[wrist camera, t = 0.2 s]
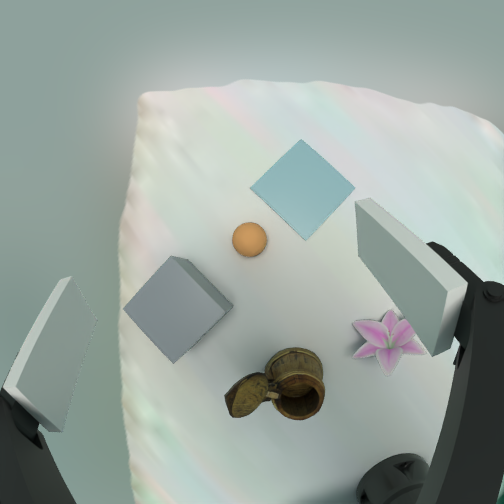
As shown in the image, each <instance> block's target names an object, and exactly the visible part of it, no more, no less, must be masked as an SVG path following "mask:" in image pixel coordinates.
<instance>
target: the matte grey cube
mask: <svg viewBox="0 0 504 504" xmlns="http://www.w3.org/2000/svg"><path fill="white" fill-rule="evenodd" d="M232 307H233V305H232V304H231V303H230V302H229V301H228V300H227V299H226V298H225V297H224V296H223V295H222V294H221V293H220V292H219V291H218V290H217V289H216V288H215V287H214V286H213V285H212V284H211V283H210V282H209V281H208V280H207V279H206V278H205V277H204V276H203V275H202V274H201V272H200V271H199V270H198V269H197V268H196V267H195V266H194V265H193V264H192V263H191V262H190V261H189V260H188V259H183V258H178V257H174V256H170V257H169V258H168V260H167V261H166V262H165V263H164V264H163V265H162V266H161V267H160V268H159V269H158V270H157V271H156V273H155V274H154V275H153V276H152V277H151V278H150V279H149V280H148V281H147V282H146V283H145V285H144V286H143V287H142V288H141V289H140V290H139V291H138V292H137V293H136V295H135V296H134V297H133V298H132V299H131V300H130V301H129V302H128V304H127V305H126V306H125V307H124V308H123V310H124V311H125V312H126V313H127V314H128V315H129V317H130V318H131V319H132V320H133V321H134V322H135V323H136V324H137V326H138V327H139V328H140V329H141V330H142V331H143V332H144V333H145V334H146V336H147V337H148V338H149V339H150V340H151V341H152V342H153V343H154V344H155V345H156V346H157V347H158V348H159V349H160V350H161V352H162V353H163V354H164V355H165V356H166V357H167V358H168V359H169V360H170V361H171V362H172V363H173V364H174V363H175V362H176V361H177V360H178V359H179V358H181V357H182V356H183V355H184V354H185V353H186V352H187V351H189V350H190V349H191V348H192V347H193V346H194V345H195V344H196V343H197V342H198V341H199V340H200V339H201V338H202V337H203V336H204V335H205V334H206V333H207V332H208V331H209V330H210V329H211V328H212V327H213V326H214V325H215V324H216V323H217V322H218V321H219V320H220V319H221V318H222V317H223V316H224V315H225V314H226V313H227V312H228V311H229V310H230V309H231V308H232Z"/></svg>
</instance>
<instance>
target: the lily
mask: <svg viewBox="0 0 504 504" xmlns="http://www.w3.org/2000/svg"><path fill="white" fill-rule="evenodd" d="M352 324H353V326H354V327H355V328H356V329H357V330H358V332H359V333H360V334H361V335H362V336H363V337H364V338H365V339H366V340H367V341H368V342H366V343H365V344H363V345H362V346H361V347H360V348H359V349H358V350H357V351H356V352H355V353H354V355H353V356H352V358H353V359H356V358H364V357H370V356H375V355H376V358H377V360H378V362H379V364H380V367H381V369H382V371H383V373H384V374H385V375H386V376H390V375H391V374H392V372H393V371H394V369H395V367H396V365H397V364H398V362H399V360H400V358H401V356H402V354H411V355H425V354H426V351H425V350H424V348H423V347H422V346H421V345H420V344H419V343H418V342H417V341H415V340H414V339H412V338H413V337H414V336H415V334H416V332H415V331H414V330H413V328H412V327H411V325H410V324H409V323H408V321H407V320H406V318H405V319H402V320H400V321H399V319H398V317H397V316H396V314H395V313H394V311H393V310H388V311H387V313H386V314H385V316H384V318H383V320H382V322H378V321H374V320H357V321H354V322H353V323H352Z"/></svg>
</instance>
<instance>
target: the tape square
mask: <svg viewBox="0 0 504 504" xmlns="http://www.w3.org/2000/svg"><path fill="white" fill-rule="evenodd" d="M250 189H252V190H253V191H254V192H255V193H256V194H257V195H258V196H259V197H260V198H261V199H262V200H263V201H264V202H266V203H267V204H268V205H269V206H270V207H271V208H272V209H273V210H274V211H275V212H276V213H277V214H278V215H279V216H280V217H281V218H282V219H284V220H285V221H286V222H287V223H288V224H289V225H290V226H291V227H292V228H293V229H294V230H295V231H296V232H297V233H298V234H299V235H300V236H301V237H302V238H303V239H304V240H305V241H306V240H307V239H308V238H309V237H310V236H311V235H312V234H313V233H314V232H315V230H316V229H317V228H318V227H319V226H320V225H321V224H322V223H323V222H324V221H325V220H326V219H327V218H328V217H329V216H330V215H331V214H332V212H333V211H334V210H335V209H336V208H337V207H338V206H339V205H340V204H341V203H342V202H343V201H344V200H345V199H346V198H347V196H348V195H349V194H350V193H351V192H352V191H353V190H354V189H355V187H354V186H353V185H352V184H351V183H350V182H349V181H348V180H347V179H345V178H344V177H343V176H342V175H341V174H340V173H339V172H338V171H337V170H336V169H335V168H334V167H332V166H331V165H330V164H329V163H328V162H327V161H326V160H325V159H324V158H322V157H321V156H320V155H319V154H318V153H317V152H316V151H315V150H313V149H312V148H311V147H310V146H309V145H308V144H306V143H305V142H304V141H303V140H302V139H301V140H299V141H298V142H297V143H296V144H295V145H294V146H293V147H292V148H291V149H290V150H289V151H288V152H287V153H286V154H285V155H284V156H283V157H281V158H280V159H279V160H278V161H277V162H276V163H275V164H274V165H273V166H272V167H271V168H270V169H269V170H268V171H267V172H266V173H265V174H264V175H263V176H262V177H261V178H260V179H259V180H258V181H257V182H256V183H255V184H254V185H253V186H252V187H251V188H250Z"/></svg>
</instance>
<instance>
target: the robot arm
mask: <svg viewBox="0 0 504 504" xmlns="http://www.w3.org/2000/svg"><path fill="white" fill-rule="evenodd" d="M355 211H356V224H357V240H358V256H359V257H360V259H361V260H362V261H363V262H364V264H365V265H366V266H367V267H368V269H369V270H370V271H371V273H372V274H373V275H374V276H375V278H376V279H377V280H378V282H379V283H380V284H381V286H382V287H383V288H384V290H385V291H386V292H387V294H388V295H389V296H390V298H391V299H392V300H393V302H394V303H395V305H396V306H397V307H398V309H399V310H400V311H401V313H402V314H403V316H404V317H405V318H406V320H407V321H408V323H409V324H410V325H411V327H412V328H413V330H414V331H415V332H416V334H417V335H418V337H419V338H420V340H421V341H422V343H423V344H424V346H425V347H426V348H427V350H428V351H429V353H430V354H431V356H432V357H433V356H435V355H438V354H440V353H442V352H444V351H446V350H448V349H450V348H451V345H452V342H453V338H454V336H455V338H456V339H457V340H458V341H459V343H460V346H459V348H458V351H457V354H456V357H455V360H454V362H453V365H456V366H455V371H454V377H453V382H452V387H451V392H450V397H449V401H448V406H447V410H446V414H445V418H444V422H443V426H442V429H441V433H440V436H439V440H438V443H437V446H436V450H435V453H434V456H433V459H432V462H431V465H430V468H429V466H428V464H427V463H426V462H425V461H424V459H423V458H422V457H420V456H418V455H415V454H400V455H396V456H393V457H390V458H388V459H386V460H384V461H382V462H380V463H379V464H377V465H376V466H374V467H373V468H372V469H371V470H369V471H368V472H367V473H366V474H365V476H364V477H363V478H362V480H361V481H360V483H359V485H358V487H357V492H356V495H357V499H358V502H359V504H496V502H497V498H498V494H499V491H500V487H501V483H502V479H503V474H504V285H502V284H500V283H497V282H494V281H486V282H483V281H482V280H481V279H480V278H479V277H478V276H477V275H476V274H475V273H473V272H472V271H471V270H470V269H469V268H468V267H467V266H466V265H465V264H464V263H462V262H460V260H459V259H458V258H457V257H456V256H453V254H452V253H451V252H450V251H449V250H448V249H446V248H445V247H444V246H442V245H439V244H437V243H435V242H429V243H426V244H425V243H424V242H423V241H422V240H421V239H420V238H419V237H417V236H416V235H415V234H414V233H413V232H412V231H410V230H409V229H408V228H407V227H406V226H404V225H403V224H402V223H401V222H400V221H398V220H397V219H396V218H395V217H394V216H392V215H391V214H390V213H389V212H387V211H386V210H385V209H384V208H382V207H381V206H380V205H379V204H377V203H376V202H375V201H374V200H372V199H371V198H368V199H364V200H359V201H355ZM97 321H98V320H97V318H96V317H95V315H94V313H93V312H92V310H91V308H90V307H89V305H88V303H87V302H86V300H85V298H84V297H83V295H82V293H81V291H80V290H79V288H78V286H77V284H76V282H75V281H74V279H73V277H72V276H70V277H67V278H63V279H60V281H59V282H58V284H57V285H56V287H55V289H54V290H53V292H52V294H51V295H50V297H49V298H48V300H47V302H46V304H45V305H44V307H43V309H42V311H41V312H40V314H39V316H38V317H37V319H36V321H35V323H34V325H33V326H32V328H31V330H30V332H29V334H28V336H27V338H26V340H25V341H24V343H23V345H22V347H21V349H20V351H19V352H18V354H17V356H16V358H15V361H14V363H13V364H12V366H11V367H12V368H11V369H10V371H9V373H8V375H7V377H6V379H5V381H4V384H3V386H2V388H1V391H0V504H76V502H75V500H74V498H73V497H72V495H71V493H70V491H69V489H68V488H67V485H66V484H65V482H64V480H63V478H62V476H61V474H60V472H59V470H58V468H57V466H56V464H55V462H54V459H53V457H52V455H51V452H50V450H49V448H48V446H47V444H46V441H45V438H44V436H43V435H42V433H41V432H40V431H39V430H38V426H39V423H40V424H41V425H42V426H43V427H44V428H45V429H47V430H48V431H49V432H63V429H64V425H65V421H66V417H67V414H68V410H69V406H70V403H71V399H72V396H73V392H74V389H75V386H76V383H77V379H78V376H79V373H80V370H81V367H82V364H83V361H84V358H85V355H86V352H87V349H88V346H89V343H90V340H91V337H92V335H93V332H94V329H95V326H96V323H97Z"/></svg>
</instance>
